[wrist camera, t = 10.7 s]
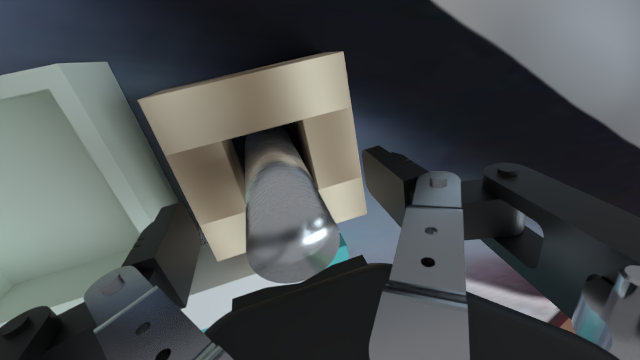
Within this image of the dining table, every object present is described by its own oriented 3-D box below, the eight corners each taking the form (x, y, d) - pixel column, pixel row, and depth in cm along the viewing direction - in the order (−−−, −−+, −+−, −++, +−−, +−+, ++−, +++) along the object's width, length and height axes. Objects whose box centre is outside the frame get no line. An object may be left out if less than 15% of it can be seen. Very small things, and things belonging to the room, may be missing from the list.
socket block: (222, 226, 20) (217, 261, 17) (161, 90, 16) (137, 100, 12) (347, 188, 22) (366, 213, 18) (323, 52, 17) (343, 51, 14)
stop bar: (124, 302, 21) (92, 368, 17) (103, 275, 20) (62, 338, 15) (298, 245, 23) (311, 291, 18) (290, 217, 22) (301, 258, 17)
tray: (18, 288, 19) (-43, 349, 15) (-153, 117, 13) (-319, 142, 9) (195, 234, 20) (183, 277, 16) (107, 61, 15) (57, 63, 11)
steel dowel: (251, 172, 19) (259, 294, 10) (238, 129, 18) (233, 221, 8) (295, 162, 20) (344, 267, 10) (286, 119, 18) (333, 195, 9)
